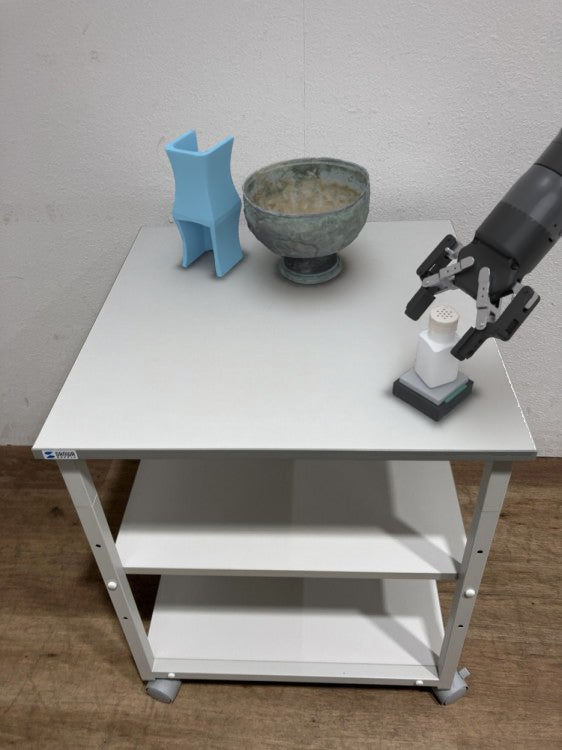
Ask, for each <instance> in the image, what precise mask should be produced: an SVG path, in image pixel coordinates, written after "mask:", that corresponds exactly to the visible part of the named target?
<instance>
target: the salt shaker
mask: <svg viewBox="0 0 562 750" xmlns="http://www.w3.org/2000/svg"><path fill="white" fill-rule="evenodd" d="M459 319H460V314H459V312H458V310H456V309H455V308H453V307H452V306H446V305H438V306H436V307H433V308H432V309H431V310H430V312H429V317H428V323H427V324H428V326H427V327H428V328H427V329H424V330H422V331H420V333H419V334H418V340H417V344H416V345H417V346H416V354H415V362H414V366H415V371H416V373H417V374H418V375H419V376H420V378H421V379H422V380H423V381H424V382H425V384H426V385H427V386H428V387H430V388H434V387H437V386H440V385H443V384H446V383H449V382H452V381H454V380H455V379H456V378H457V373H458V371H459V367H460V363H461V361H460V360H458V359H456V358H455V357H454V356H453V355H451V354H450V351H451V350H452V348H453V347H454V346H455V345H456V344H457V343H458V341H459V340H460V339H461V338H462V337H460V335H459V334H458V333H457V330H458V323H459Z"/></svg>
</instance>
